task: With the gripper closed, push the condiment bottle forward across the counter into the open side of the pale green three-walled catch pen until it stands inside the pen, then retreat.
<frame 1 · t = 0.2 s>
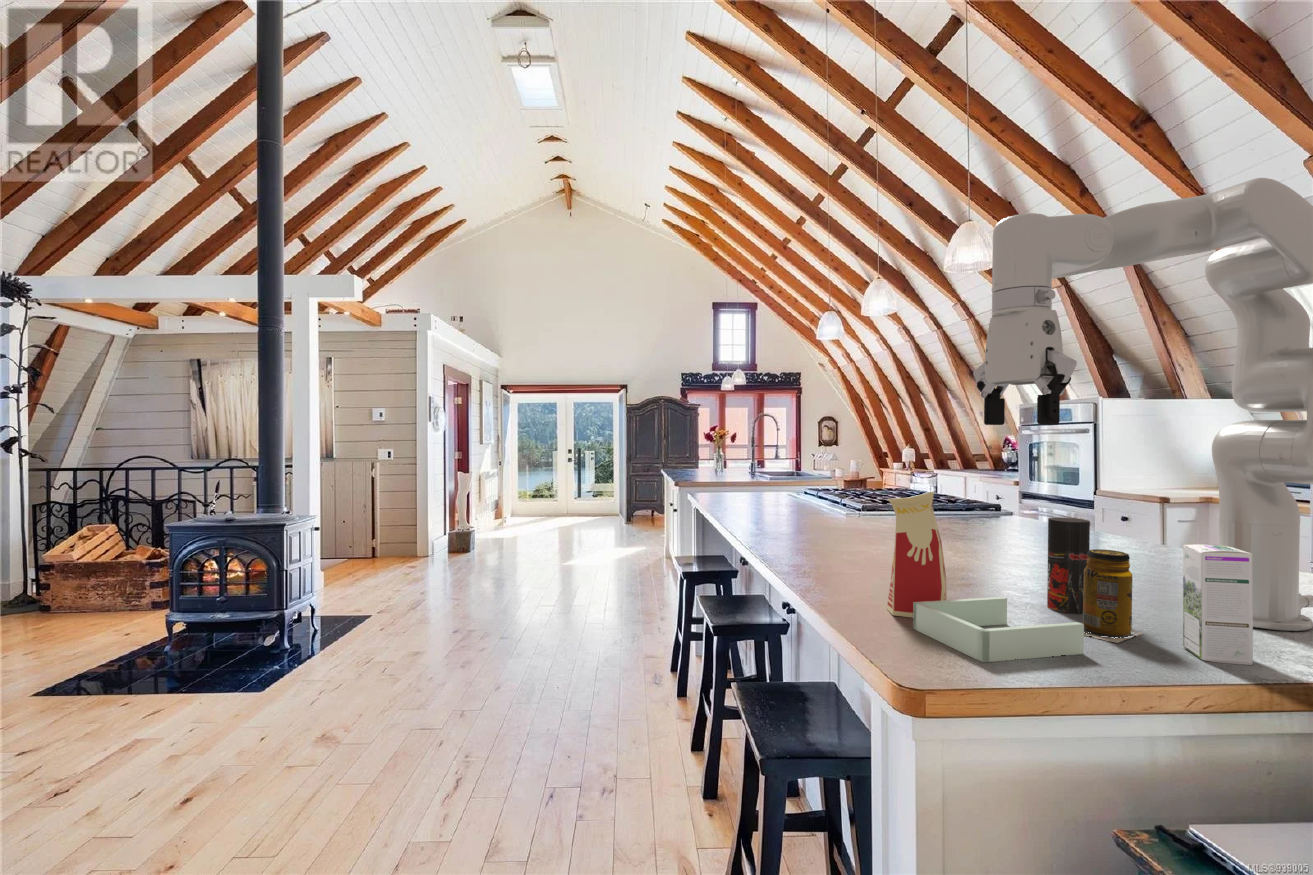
hand: (1019, 424, 96), 31 cm above the table, tool pointing down, fingers open, 9 cm apart
milk carton: (915, 612, 111), on the table
condiment: (1103, 634, 100), on the table
catch pen: (993, 640, 95), on the table
syrup box: (1216, 657, 89), on the table
deodorant: (1067, 610, 112), on the table
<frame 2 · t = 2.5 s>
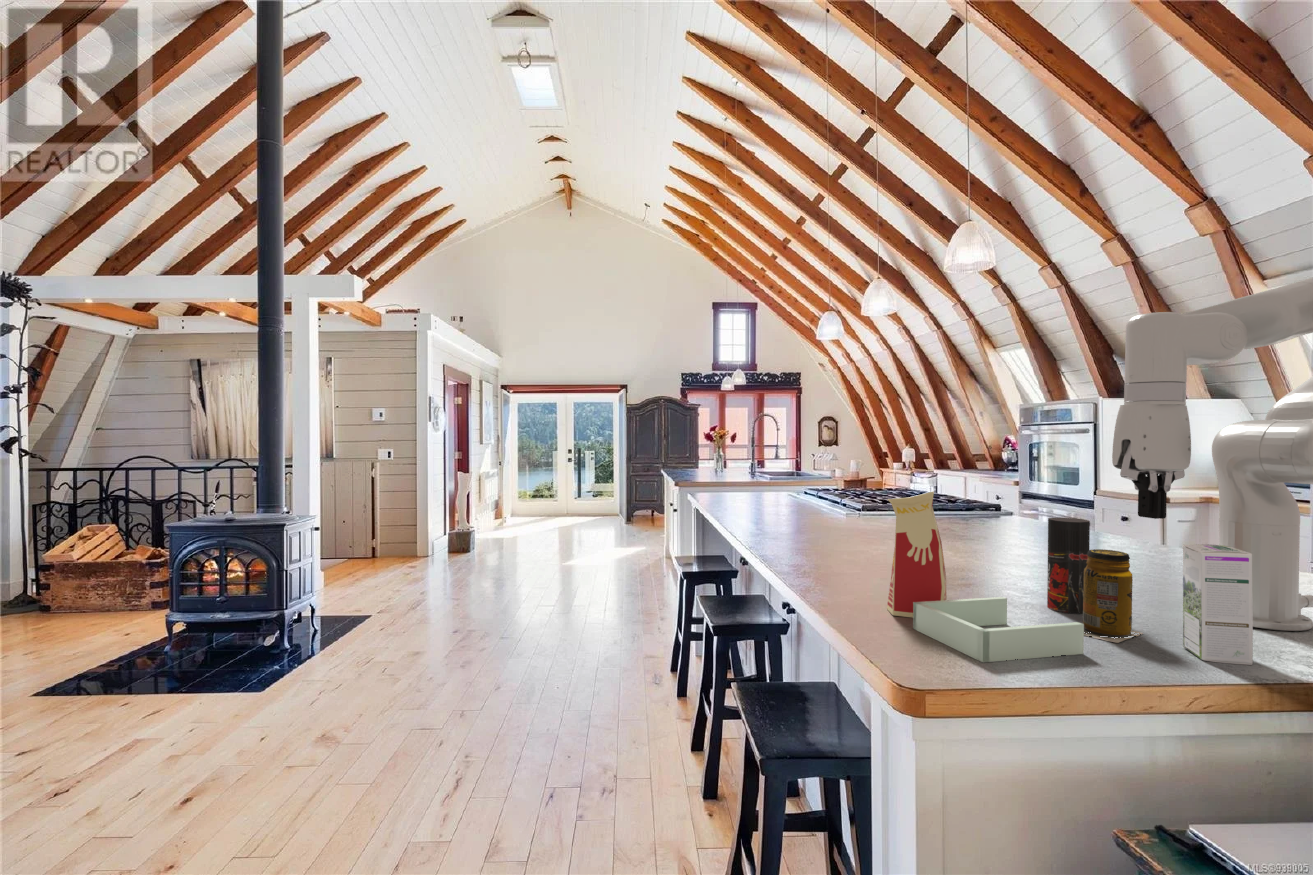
hand: (1151, 517, 101), 17 cm above the table, tool pointing down, fingers closed
nothing on the table moved.
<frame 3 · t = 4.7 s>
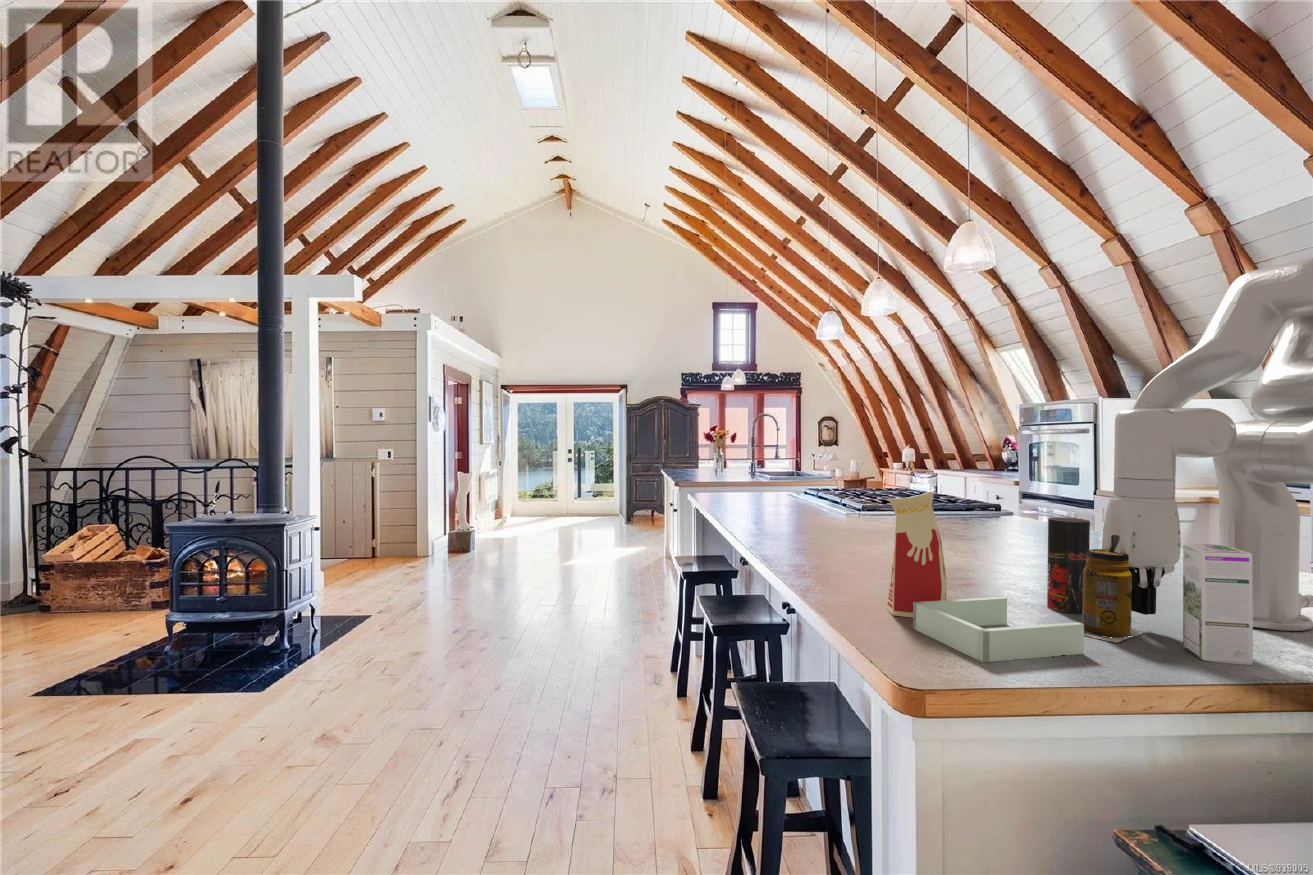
hand: (1141, 611, 101), 3 cm above the table, tool pointing down, fingers closed
condiment: (1102, 633, 99), on the table, touching gripper
everything else where it was.
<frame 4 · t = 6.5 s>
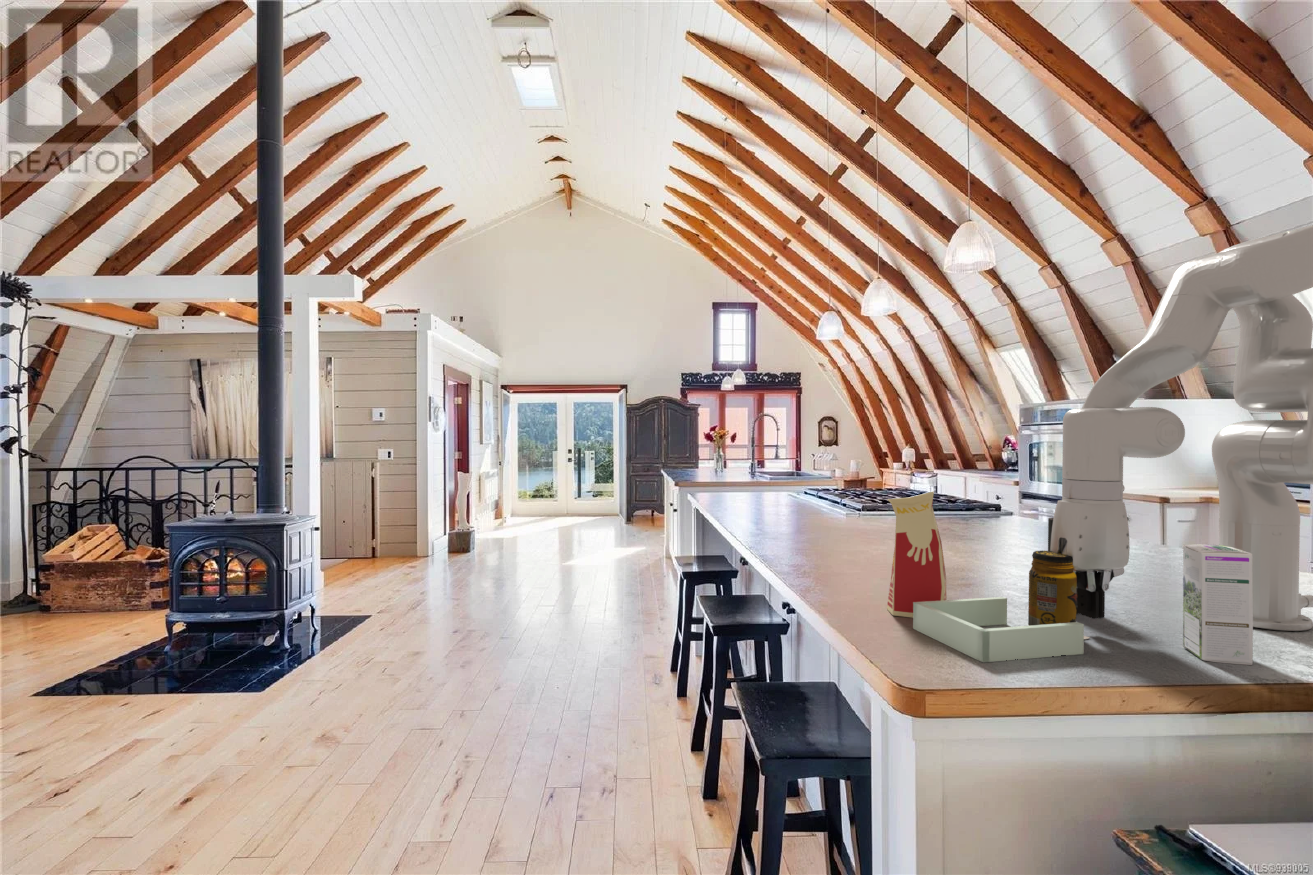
hand: (1090, 615, 99), 3 cm above the table, tool pointing down, fingers closed
condiment: (1046, 636, 98), on the table, touching gripper
everything else where it was.
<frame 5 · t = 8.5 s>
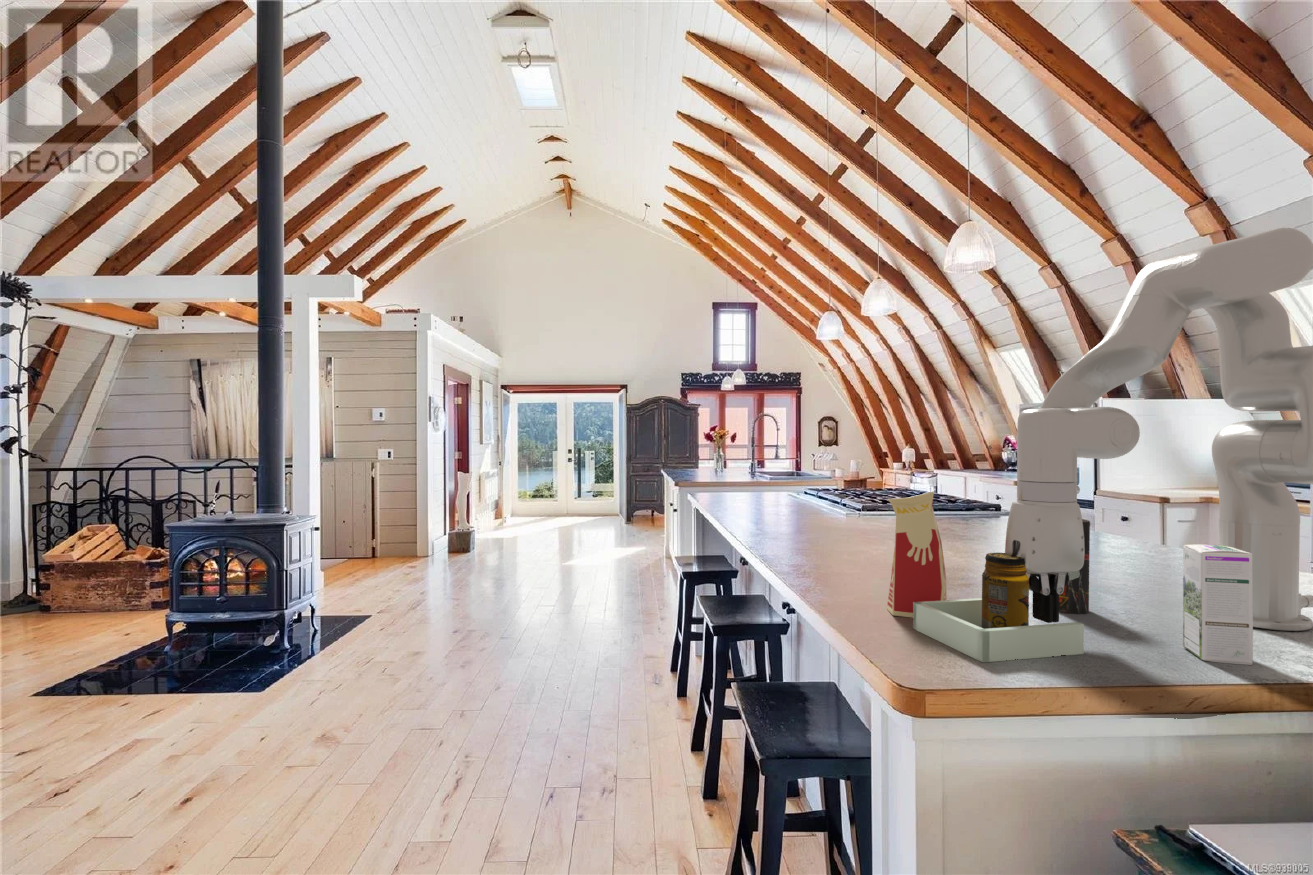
hand: (1045, 619, 97), 2 cm above the table, tool pointing down, fingers closed
condiment: (999, 640, 96), on the table, touching gripper
everything else where it was.
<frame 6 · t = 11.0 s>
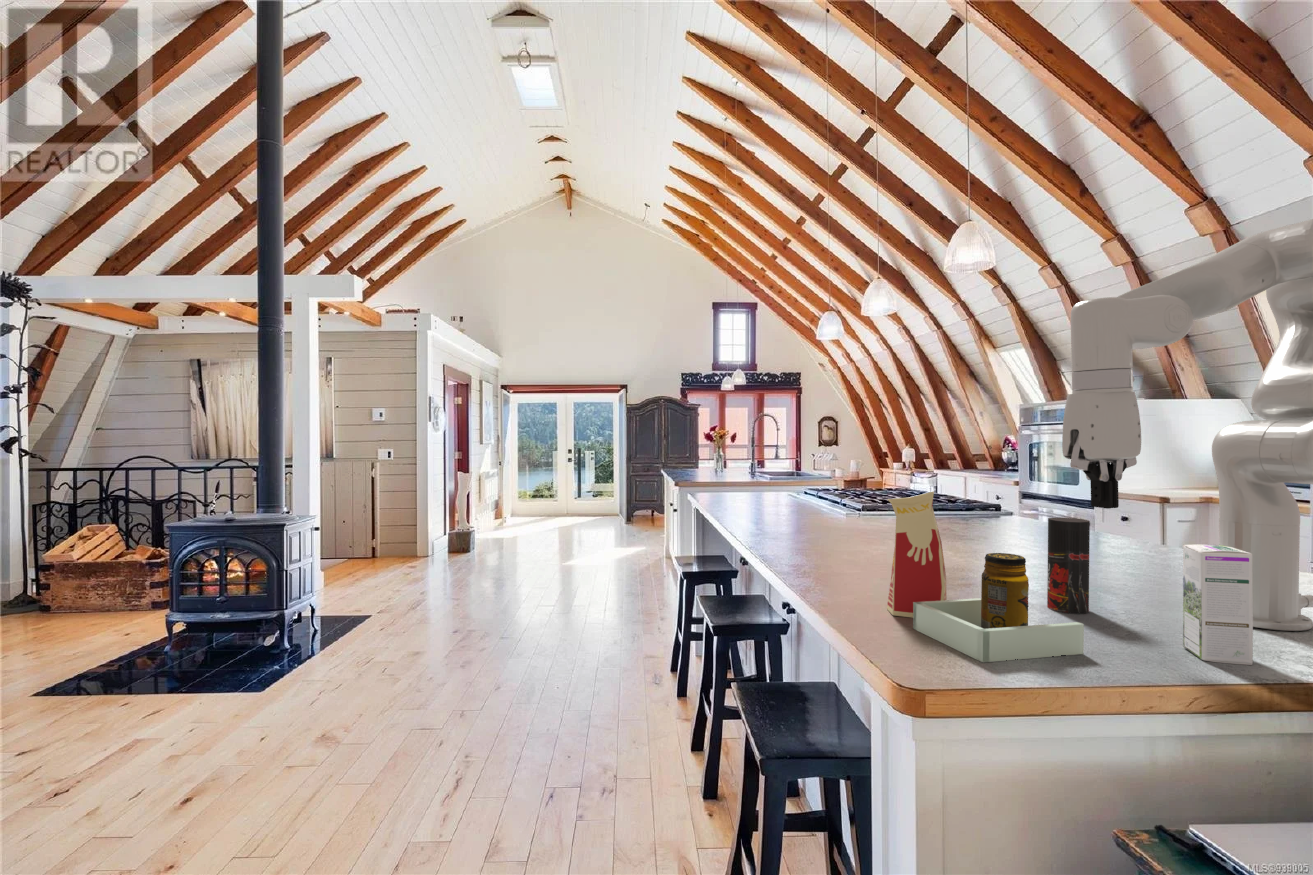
hand: (1104, 507, 99), 19 cm above the table, tool pointing down, fingers closed
condiment: (998, 640, 96), on the table
everything else where it was.
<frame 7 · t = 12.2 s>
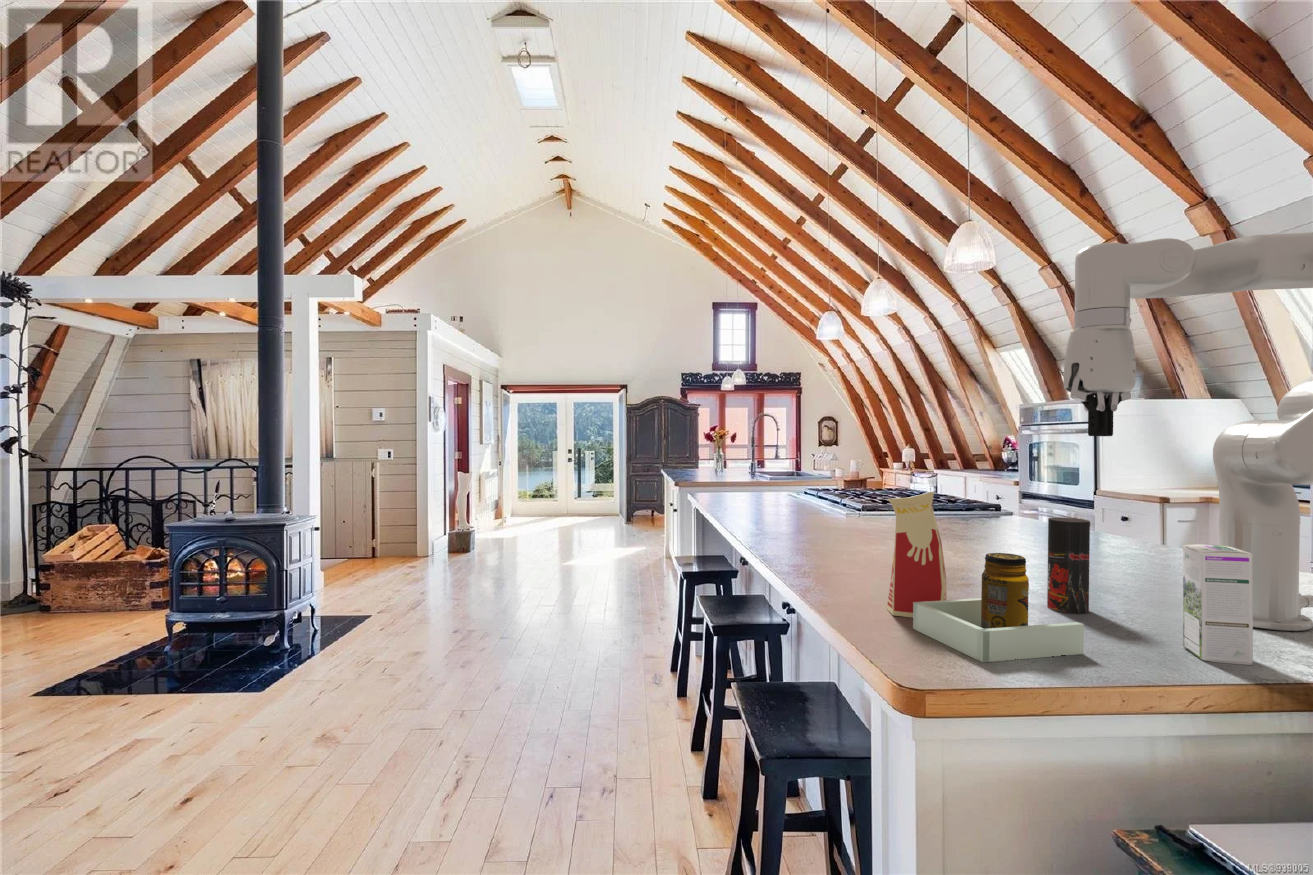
hand: (1100, 435, 109), 29 cm above the table, tool pointing down, fingers closed
nothing on the table moved.
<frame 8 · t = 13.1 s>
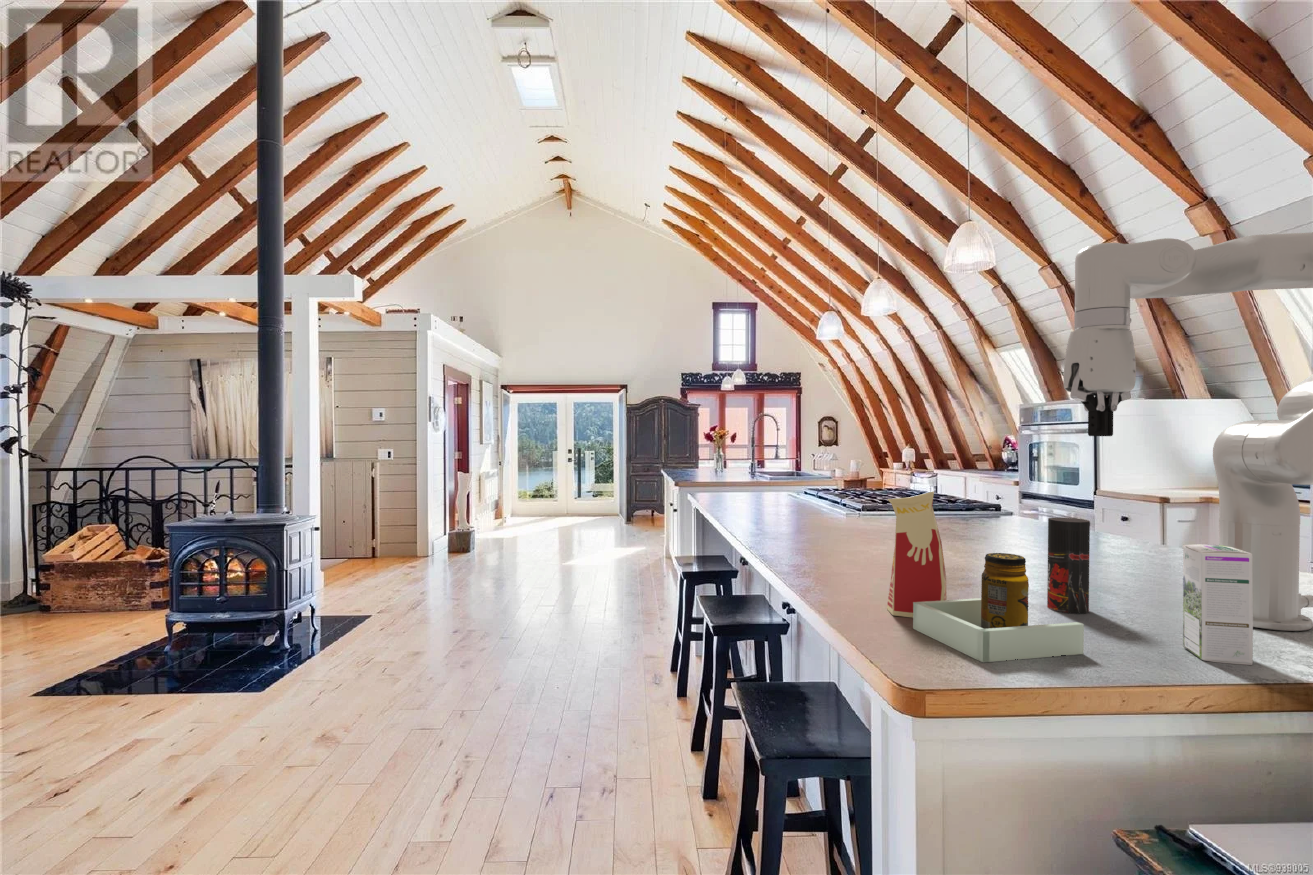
hand: (1100, 435, 109), 29 cm above the table, tool pointing down, fingers closed
nothing on the table moved.
at the end: condiment inside the target area (1.7 cm from its centre), on the table; condiment moved 17.4 cm from its start; the gripper is holding nothing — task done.
